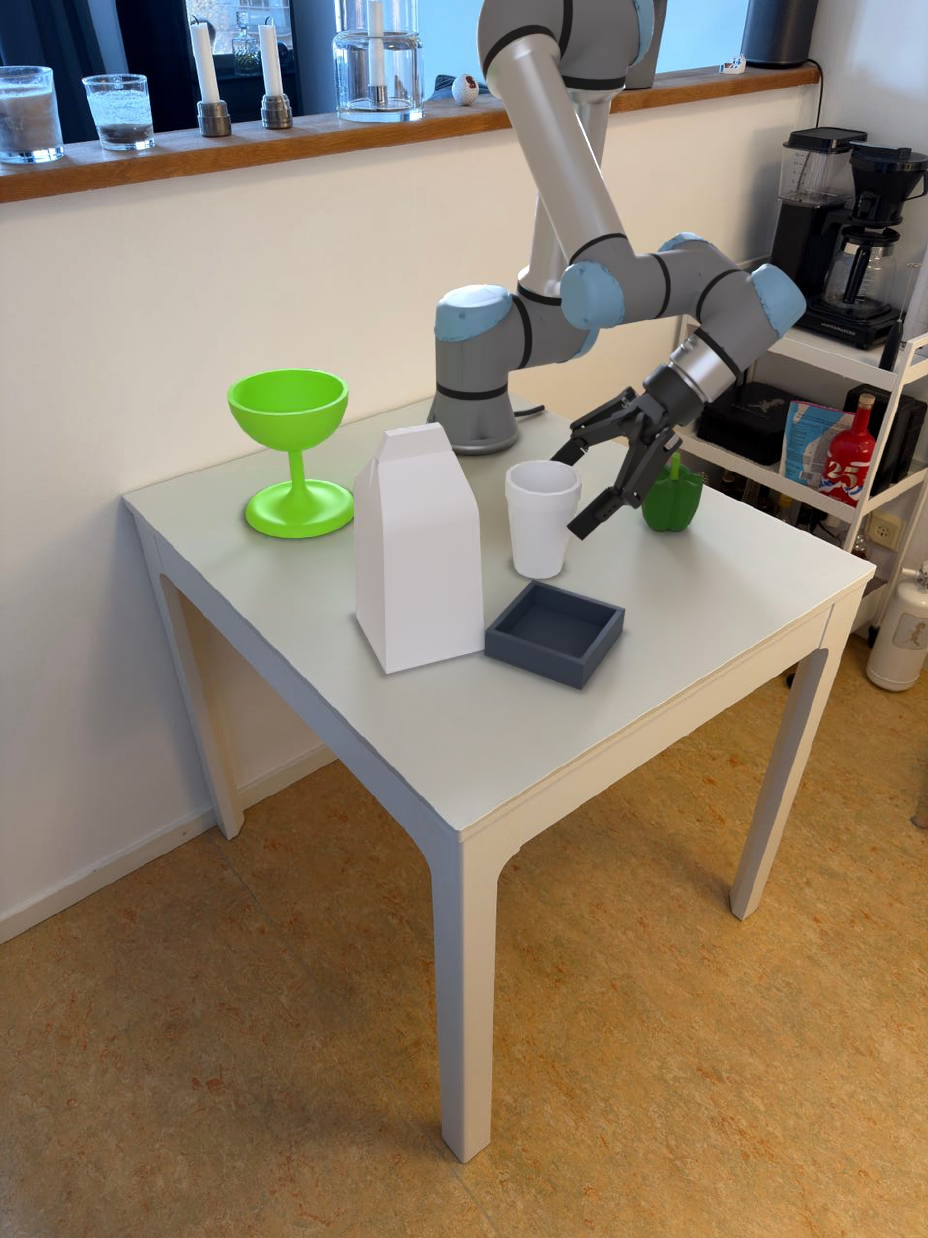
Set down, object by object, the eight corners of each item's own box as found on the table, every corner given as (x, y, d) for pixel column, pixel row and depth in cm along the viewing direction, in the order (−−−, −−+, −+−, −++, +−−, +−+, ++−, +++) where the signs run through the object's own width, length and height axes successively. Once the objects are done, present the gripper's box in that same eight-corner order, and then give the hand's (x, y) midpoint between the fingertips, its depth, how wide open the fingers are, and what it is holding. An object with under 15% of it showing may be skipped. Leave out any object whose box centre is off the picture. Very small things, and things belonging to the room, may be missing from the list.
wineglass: (298, 551, 120) (283, 426, 110) (221, 512, 128) (201, 393, 118) (380, 505, 131) (373, 387, 120) (304, 473, 139) (292, 359, 128)
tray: (531, 602, 111) (532, 579, 109) (622, 632, 107) (625, 608, 105) (484, 655, 103) (484, 630, 101) (581, 690, 98) (583, 665, 96)
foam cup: (521, 540, 123) (526, 453, 115) (584, 557, 120) (593, 469, 112) (490, 573, 116) (492, 484, 109) (555, 593, 113) (562, 502, 105)
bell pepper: (682, 545, 122) (694, 479, 116) (627, 528, 126) (636, 463, 120) (704, 519, 128) (717, 455, 122) (651, 503, 132) (660, 441, 126)
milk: (386, 674, 100) (374, 462, 85) (356, 617, 109) (340, 415, 93) (484, 649, 104) (490, 442, 88) (448, 596, 112) (447, 399, 97)
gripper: (630, 328, 115) (512, 446, 121) (715, 404, 95) (569, 541, 101) (663, 365, 119) (547, 478, 125) (751, 446, 99) (609, 574, 105)
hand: (557, 506), depth 113 cm, fingers open, 13 cm apart
